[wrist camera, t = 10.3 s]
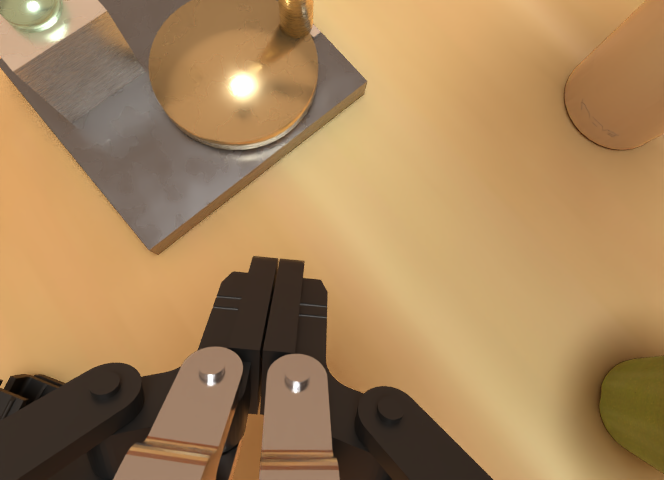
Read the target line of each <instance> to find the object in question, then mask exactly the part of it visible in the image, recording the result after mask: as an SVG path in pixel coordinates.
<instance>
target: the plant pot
mask: <svg viewBox="0 0 664 480" xmlns="http://www.w3.org/2000/svg"><path fill="white" fill-rule="evenodd" d="M599 409H600V414H601V418H602V420H603V423H604V425H605V427H606V429H607V431H608V432H609V434H610V435H611V436H612V437H613V438H614V440H615V441H616V442H617V443H619V444H620V445H621V446H622V447H624V448H625V449H627V450H628V451H629V452H631V453H633V454H634V455H636V456H637V457H639V458H640V459H642V460H643V461H645V462H646V463H648V464H649V465H651V466H653V467H654V468H656V469H657V470H659V471H660V472H662V473H663V474H664V356H656V357H646V358H638V359H631V360H627V361H624V362H621V363H619V364H618V365H616V366H615V367H614V368H612V369H611V371H610V372H609V373H608V374H607V375H606V377H605V378H604V380H603V383H602V386H601V398H600V404H599Z"/></svg>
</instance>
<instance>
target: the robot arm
mask: <svg viewBox="0 0 664 480" xmlns="http://www.w3.org/2000/svg"><path fill="white" fill-rule="evenodd" d="M565 105H566V108H567V111H568V114H569V116H570V118H571V120H572V121H573V123H574V125H575V126H576V127H577V128H578V129H579V131H580V132H581V133H582V134H584V135H585V136H586V137H587V138H588V139H590V140H591V141H593V142H595V143H597V144H598V145H601V146H604V147H607V148H610V149H618V150H626V149H633V148H636V147H639V146H642V145H643V144H645V143H647V142H649V141H651V140H653V139H655V138H656V137H658V136H660V135H662V134H664V0H646V1H645V2H644V3H643V4H642V5H641V6H640V7H639V8H638V9H637V10H636V11H635V12H634V13H632V14H631V15H630V16H629V17H628V18H627V19H626V20H625V21H624V22H623V23H622V24H621V25H620V26H619V27H618V28H617V29H616V30H615V31H614V32H613V33H612V34H611V35H610V36H609V37H608V38H606V39H605V40H604V41H603V42H602V43H601V44H600V45H599V46H598V47H597V48H596V49H595V50H594V51H593V52H592V53H591V54H590V55H589V56H588V57H586V58H585V59H584V60H583V61H582V62H581V63H580V64H579V65H578V66H577V67H576V68H575V69H574V70H573V72H572V73H571V75H570V76H569V78H568V81H567V83H566V87H565ZM303 271H304V261H299V260H289V259H280V261H279V267H278V258H268V257H258V256H253V258H252V262H251V265H250V269H249V272H248V273H243V272H232V273H231V274H230V275H229V276H228V277H227V278H226V279H225V280H223V281H222V283H221V286H220V288H219V291H218V294H217V298H216V300H215V303H214V305H213V309H212V311H211V314H210V317H209V320H208V322H207V325H206V328H205V331H204V334H203V337H202V339H201V342H200V345H199V348H198V350H197V351H196V352H194V353H193V354H191V355H190V356H189V357H187V359H186V360H185V361H184V362H183V364H182V366H181V367H179V368H177V369H175V370H172V371H169V372H165V373H160V374H154V375H149V376H143V377H141V376H140V374H139V372H138V371H137V370H136V369H135V368H134V367H132V366H130V365H127V364H124V363H108V364H103V365H100V366H97V367H94V368H92V369H90V370H89V371H87V372H85V373H83V374H81V375H80V376H78V377H76V378H74V379H73V380H71V381H69V382H67V383H66V384H64V385H62V386H60V387H59V388H57V389H55V390H53V391H52V392H50V393H48V394H46V395H45V396H43V397H41V398H39V399H38V400H36V401H34V402H32V403H31V404H29V405H27V406H25V407H24V408H22V409H20V410H18V411H17V412H15V413H13V414H11V415H10V416H8V417H6V418H4V419H2V420H1V421H0V480H232V478H233V474H234V471H235V467H236V464H237V460H238V456H239V453H240V449H241V445H242V437H243V435H244V432H245V427H246V422H247V417H248V414H258V408H259V402H260V397H261V406H260V414H262V415H264V423H263V437H262V451H261V460H260V473H259V480H493V479H492V478H491V477H490V476H489V475H488V474H487V473H486V472H485V471H484V470H483V469H482V468H481V467H480V466H479V465H478V464H477V463H476V462H475V461H474V460H473V459H472V458H471V457H470V456H469V455H468V454H467V453H466V452H465V451H464V450H463V449H462V448H461V447H460V446H459V445H458V444H457V443H456V442H455V441H454V440H453V439H452V438H451V437H450V436H449V435H448V434H447V433H446V432H445V431H444V430H443V429H442V428H441V427H440V426H439V425H438V424H437V423H436V422H435V421H434V420H433V419H432V418H431V417H430V416H429V415H428V414H427V413H426V412H425V411H424V410H423V409H422V408H421V407H420V406H419V405H418V404H417V403H416V402H415V401H414V400H413V399H412V398H411V397H410V396H408V395H407V394H406V393H404V392H403V391H401V390H398V389H396V388H393V387H387V386H381V387H375V388H372V389H370V390H368V391H367V392H365V393H364V394H363V393H361V392H358V391H355V390H353V389H350V388H348V387H346V386H344V385H342V384H341V383H339V382H338V381H337V380H336V379H335V378H334V377H333V376H332V375H331V374H330V372H329V370H328V368H327V365H326V330H327V293H328V292H327V290H326V288H325V287H324V285H323V283H322V281H321V280H317V279H306V278H303Z"/></svg>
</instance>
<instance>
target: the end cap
mask: <svg viewBox="0 0 664 480" xmlns="http://www.w3.org/2000/svg"><path fill="white" fill-rule="evenodd" d="M2 382H3V380H1V379H0V385H1V384H2ZM64 384H65V383H62V382H60V381H58V380H55V379H53V378H50V377H48V376H45V375H41V374H39V375H35V376H31V375H26V374H21V375H14V376H10V378H9V380H8V382H7V384H6V386H5V387H4V389H2V388H0V421H1V420H2V419H4V418H6V417H8V416H10V415H11V414H13V413H15V412H17V411H18V410H20V409H22V408H24V407H25V406H27V405H29V404H31V403H32V402H34V401H36V400H38V399H39V398H41V397H43V396H45V395H46V394H48V393H50V392H52V391H53V390H55V389H57V388H59V387H60V386H62V385H64Z"/></svg>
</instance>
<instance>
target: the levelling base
mask: <svg viewBox="0 0 664 480" xmlns="http://www.w3.org/2000/svg"><path fill="white" fill-rule="evenodd" d="M189 1H191V0H0V56H1V59H0V68H1V69H2V70H3V71H4V73H5V74H6V75H7V76H8V77H9V79H10V80H11V81H12V82H13V84H14V85H15V86H16V87H17V89H18V90H19V91H20V92H21V93H22V95H23V96H24V97H25V98H26V100H27V101H28V102H29V103H30V104H31V106H32V107H33V108H34V109H35V111H36V112H37V113H38V114H39V116H40V117H41V118H42V119H43V120H44V122H45V123H46V124H47V125H48V127H49V128H50V129H51V130H52V132H53V133H54V134H55V135H56V136H57V138H58V139H59V140H60V141H61V143H62V144H63V145H64V146H65V147H66V149H67V150H68V151H69V152H70V154H71V155H72V156H73V157H74V159H75V160H76V161H77V162H78V163H79V165H80V166H81V167H82V168H83V170H84V171H85V172H86V173H87V175H88V176H89V177H90V178H91V179H92V181H93V182H94V183H95V184H96V186H97V187H98V188H99V189H100V190H101V192H102V193H103V194H104V195H105V197H106V198H107V199H108V200H109V202H110V203H111V204H112V205H113V206H114V208H115V209H116V210H117V211H118V213H119V214H120V215H121V216H122V218H123V219H124V220H125V221H126V222H127V224H128V225H129V226H130V227H131V229H132V230H133V231H134V232H135V234H136V235H137V236H138V237H139V238H140V240H141V241H142V242H143V243H144V245H145V246H146V247H147V248H148V249H149V250H150V251H152V252H154V253H156V254H159V253H161V252H162V251H163V250H165V249H166V248H167V247H168V246H170V245H171V244H172V243H174V242H175V241H176V240H177V239H179V238H180V237H181V236H182V235H184V234H185V233H186V232H188V231H189V230H190V229H191V228H193V227H194V226H195V225H197V224H198V223H199V222H200V221H202V220H203V219H204V218H206V217H207V216H208V215H209V214H211V213H212V212H213V211H215V210H216V209H217V208H218V207H220V206H221V205H222V204H223V203H225V202H226V201H227V200H229V199H230V198H231V197H232V196H234V195H235V194H236V193H238V192H239V191H240V190H241V189H243V188H244V187H245V186H247V185H248V184H249V183H250V182H252V181H253V180H254V179H256V178H257V177H258V176H259V175H261V174H262V173H263V172H265V171H266V170H267V169H268V168H270V167H271V166H272V165H273V164H275V163H276V162H277V161H279V160H280V159H281V158H282V157H284V156H285V155H286V154H288V153H289V152H290V151H291V150H293V149H294V148H295V147H297V146H298V145H299V144H300V143H302V142H303V141H304V140H306V139H307V138H308V137H309V136H311V135H312V134H313V133H314V132H316V131H317V130H318V129H320V128H321V127H322V126H323V125H325V124H326V123H327V122H329V121H330V120H331V119H332V118H334V117H335V116H336V115H338V114H339V113H340V112H341V111H343V110H344V109H345V108H347V107H348V106H349V105H350V104H352V103H353V102H354V101H355V100H357V99H358V98H359V97H361V96H362V95H363V94H364V92H365V88H366V84H367V81H366V80H365V78H364V77H363V76H362V75H361V74H360V73H359V72H358V71H357V70H356V69H355V68H354V67H353V66H352V65H351V64H350V62H349V61H348V60H347V59H346V58H345V57H344V56H343V55H342V54H341V53H340V52H339V51H338V50H337V49H336V48H335V47H334V45H333V44H332V43H331V42H330V41H329V40H328V39H327V38H326V37H325V36H324V35H323V34H322V33H321V32H320V31H319V29H318V28H317V27H316V26H315V25H314V24H313V27H312V30H311V32H310V34H311V36H312V38H313V41H314V44H315V47H316V51H317V56H318V79H317V88H316V93H315V97H314V99H313V102H312V105H311V107H310V108H309V110H308V112H307V114H306V115H305V116H304V118H303V119H302V120H301V122H300V123H299V124H298V125H297V126H296V127H295V128H294V129H293V130H291V131H290V132H289V133H287V134H286V135H285V136H283V137H281V138H280V139H278V140H276V141H274V142H272V143H269V144H267V145H264V146H260V147H257V148H252V149H245V150H228V149H221V148H216V147H212V146H209V145H206V144H203V143H201V142H199V141H196V140H194V139H192V138H191V137H189V136H188V135H186V134H185V133H184V132H182V131H181V130H180V129H179V128H178V127H177V126H176V125H175V124H174V123H173V122H172V121H171V120H170V118H169V117H168V115H167V114H166V112H165V111H164V109H163V108H162V106H161V105H160V103H159V102H158V100H157V98H156V96H155V94H154V92H153V89H152V86H151V82H150V77H149V56H150V50H151V47H152V44H153V41H154V38H155V36H156V34H157V32H158V31H159V29H160V28H161V26H162V25H163V23H164V22H165V21H166V20H167V19H168V17H169V16H170V15H171V14H173V13H174V12H175V11H176V10H177V9H178V8H180V7H181V6H183V5H184V4H186V3H187V2H189ZM276 1H278V0H276Z"/></svg>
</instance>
